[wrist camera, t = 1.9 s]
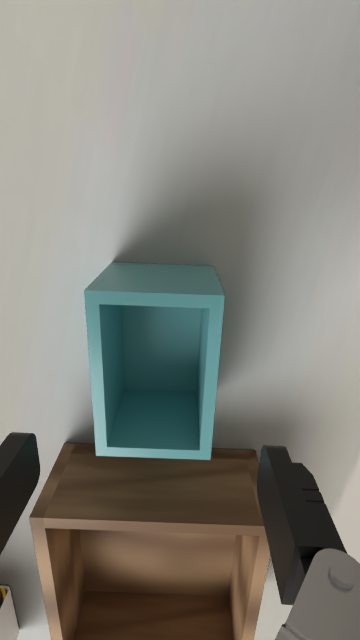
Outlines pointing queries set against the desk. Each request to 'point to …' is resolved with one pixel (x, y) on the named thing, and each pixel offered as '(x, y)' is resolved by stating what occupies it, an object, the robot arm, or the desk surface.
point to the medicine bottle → (7, 615)
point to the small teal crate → (154, 359)
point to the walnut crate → (151, 546)
